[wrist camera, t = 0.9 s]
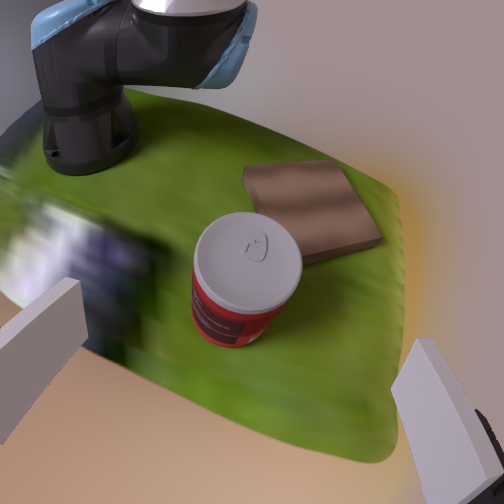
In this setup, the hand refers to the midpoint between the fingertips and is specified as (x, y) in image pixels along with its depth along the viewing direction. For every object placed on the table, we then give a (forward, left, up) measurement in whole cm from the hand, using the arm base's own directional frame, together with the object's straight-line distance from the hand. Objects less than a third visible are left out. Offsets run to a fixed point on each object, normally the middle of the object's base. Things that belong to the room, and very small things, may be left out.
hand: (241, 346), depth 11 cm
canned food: (-7, +4, -18) cm, 20 cm away
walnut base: (-17, +18, -18) cm, 31 cm away
